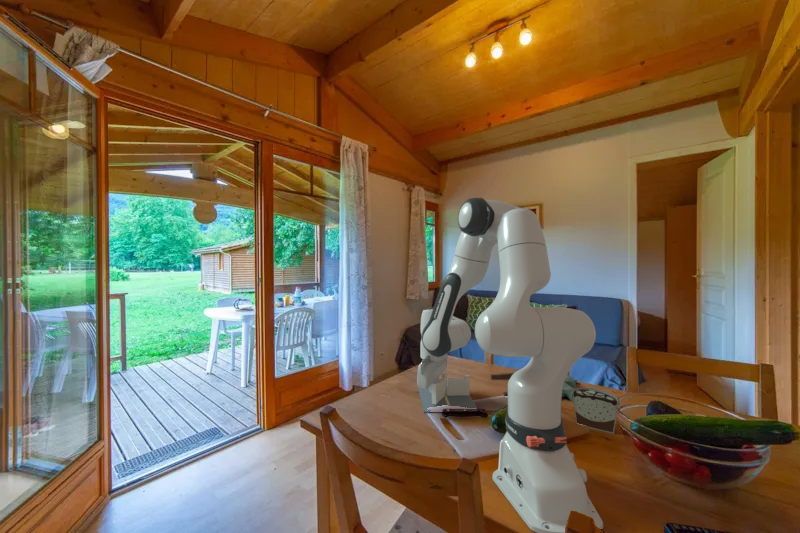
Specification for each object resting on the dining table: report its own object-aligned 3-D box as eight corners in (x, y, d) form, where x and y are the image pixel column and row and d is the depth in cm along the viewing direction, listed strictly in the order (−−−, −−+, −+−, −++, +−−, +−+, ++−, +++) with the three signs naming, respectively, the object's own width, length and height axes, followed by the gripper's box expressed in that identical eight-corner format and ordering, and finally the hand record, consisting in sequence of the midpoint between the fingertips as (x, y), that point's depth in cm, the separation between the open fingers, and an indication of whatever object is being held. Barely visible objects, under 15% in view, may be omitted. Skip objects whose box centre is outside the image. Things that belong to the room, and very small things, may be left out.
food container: (620, 425, 93) (620, 392, 93) (620, 435, 88) (620, 400, 88) (572, 414, 100) (572, 383, 100) (570, 423, 95) (570, 390, 95)
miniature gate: (487, 367, 136) (557, 361, 135) (488, 379, 136) (558, 374, 135) (508, 393, 109) (595, 387, 108) (509, 409, 109) (596, 402, 108)
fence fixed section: (468, 393, 116) (468, 374, 116) (469, 395, 114) (469, 376, 114) (447, 394, 115) (447, 375, 115) (448, 395, 114) (448, 376, 114)
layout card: (478, 411, 103) (478, 409, 103) (423, 413, 102) (423, 411, 102) (463, 387, 123) (463, 385, 123) (418, 388, 122) (418, 386, 122)
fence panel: (443, 392, 116) (443, 373, 116) (448, 393, 115) (447, 374, 115) (431, 403, 107) (431, 383, 107) (436, 405, 106) (436, 384, 106)
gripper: (430, 362, 99) (430, 405, 100) (450, 346, 117) (450, 382, 118) (412, 359, 102) (412, 401, 102) (434, 344, 120) (434, 379, 121)
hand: (432, 391), depth 110 cm, fingers closed
